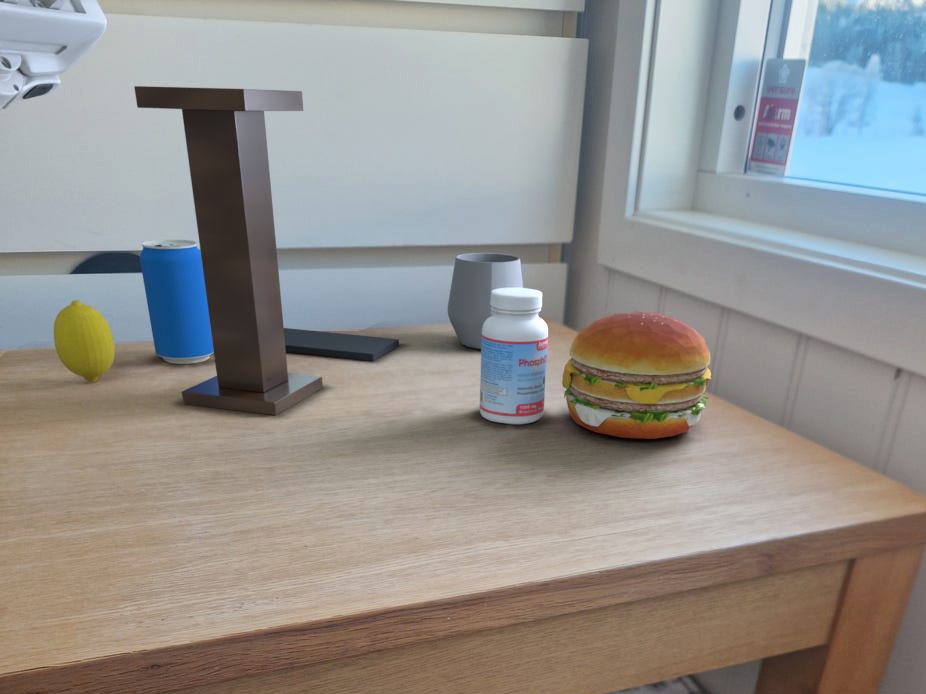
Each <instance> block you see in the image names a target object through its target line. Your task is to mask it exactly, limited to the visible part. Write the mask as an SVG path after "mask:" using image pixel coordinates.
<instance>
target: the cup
mask: <svg viewBox="0 0 926 694" xmlns="http://www.w3.org/2000/svg"><path fill="white" fill-rule="evenodd" d="M450 283H451V284H450V290H449V297H448V301H447V309H446V311H447V316H448V318H449V321H450V323H451V326H452V329H453V330H454V332H455V335H456V337H457V339H458V341H459V343H460V344H461V345H463V346H465V347H466V348H470V349H476V350H481V343H482V327H483V324H484V322H485V321H486V320H487V319H488V318H489V317H491V316H493V310H492V309H491V305H490V301H491V291H492V290H494V289H499V288H524V282H523V273H522V265H521V258H520V257H519V256H517V255H513V254H507V253H500V252H499V253H498V252H470V253H463V254H458V255H456V256H455V259H454V265H453V271H452V278H451V282H450Z"/></svg>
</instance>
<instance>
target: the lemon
mask: <svg viewBox="0 0 926 694" xmlns="http://www.w3.org/2000/svg"><path fill="white" fill-rule="evenodd" d="M53 341H54V342H53V343H54V346H55V347H54V348H55V350H56V354H57V356H58V358H59V360H60V361H61V363H62V364H63V366H64V367H65V368H66V369H68V370H69V371H70V372H72V373H73V374H74V375H77V376H80V377H82V378H84V379H85V380H86V381H88V382H89V383H95V382H97V381H98V379H99V377H100V376H101V375H103V374H105V373H106V372H108V371H109V369H110V368H111V367H112V365H113V363H114V359H115V355H116V354H115V353H116V348H115V347H116V345H115V339H114V335H113V331H112V330H111V327H110V324H109V323H108V321H107V320H106V318H105V317H104V316H103V315H102V313H101V312H99V310H97V309H96V308H94V307H92V306H90V305H87V304H85V303H83V302H81V301H80V300H77V299H76V300H72V301H71V303H70V304H69V305H66V306H65V307H63V308H62V309H61V310H60V311H59V312H58V313H57V315H56V316H55V319H54V323H53Z"/></svg>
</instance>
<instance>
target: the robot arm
mask: <svg viewBox="0 0 926 694" xmlns="http://www.w3.org/2000/svg"><path fill="white" fill-rule="evenodd" d="M107 22H108V21H107V17H106V15H105V13H104V11H103V9H102V7H101V6H100V4H99V2H98V0H0V111H1V110H2V109H3V110H6V109H8V108H10V107H12V106H14V105H15V104H17V103H20V102H22V101H24V100H28V99H32V98H35V97H41V96H44V95H48V94H51V93H53V92H54V91H56V90H57V89H58V88H59V87H60V85H61V83H62V81H61V79H60V77H59V75H60V74H63V73H65V72H67V71H68V70H70V69H71V68H72V67H74V66H75V65H76V64H77V63H79V61H80V60H82V59H83V58H84V57H85V55H86V54H87V53H88V52H90V51H91V50H92V48H93V47H94V46H95V45H96V44H97V43H98V41H100V39H101V38H102V37H103V36H104V34H105V32H106V30H107V24H108V23H107Z"/></svg>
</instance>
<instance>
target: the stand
mask: <svg viewBox="0 0 926 694" xmlns="http://www.w3.org/2000/svg"><path fill="white" fill-rule="evenodd" d="M133 87H134V94H135V101H136V107H137V109H161V110H162V109H163V110H164V109H165V110H166V109H167V110H181V113H182V121H183V129H184V138H185V144H186V153H187V159H188V166H189V176H190V179H191V180H190V181H191V189H192V197H193V204H194V213H195V219H196V220H195V221H196V228H197V235H198V242H199V250H200V252H201V258H202V266H203V274H204V281H205V289H206V296H207V304H208V311H209V319H210V327H211V334H212V342H213V349H214V353H213V356H214V364H215V371H216V372H215V373H216V375H214V376H213V377H211V378H209V379H205V380H203V381H202V382H200V383H198V384H195V385H193V386H191V387H189V388H186V389H184V390H182V391H181V396H182V397H181V398H182V404H184V405H190V406H199V407H207V408H215V409H222V410H231V411H240V412H246V413H247V412H248V413H254V414H263V415H271V416H278V414H280V413H282V412H284V411H286V410H287V409H289V408H291V407H293V406H294V405H296V404H298V403H299V402H301V401H303V400H305V399H307V398H308V397H309V396H311V395H313V394H314V393H317V392H318V391H321V389H323V388H324V386H323V376H321V375H314V374H313V375H311V374H304V373H295V372H289V371H288V362H287V352H286V349H285V337H284V328H285V326H284V318H283V306H282V294H281V284H280V271H279V262H278V261H279V260H278V251H277V250H278V249H277V238H276V227H275V217H274V206H273V205H274V204H273V195H272V193H273V192H272V183H271V172H270V162H269V161H270V160H269V150H268V139H267V129H266V128H267V127H266V116H265V112H304V102H303V101H304V99H303V91H302V90H282V89H281V90H280V89H257V88H256V89H255V88H224V87H223V88H222V87H183V86H145V85H143V86H142V85H140V86H139V85H134V86H133Z"/></svg>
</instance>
